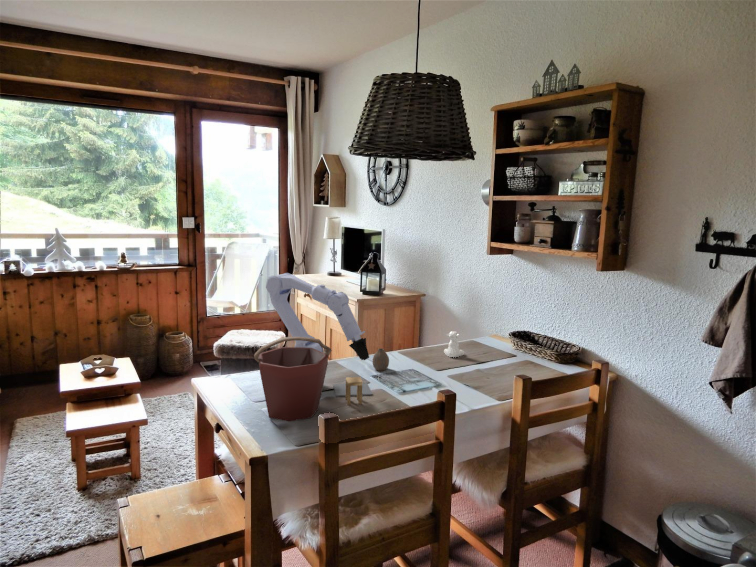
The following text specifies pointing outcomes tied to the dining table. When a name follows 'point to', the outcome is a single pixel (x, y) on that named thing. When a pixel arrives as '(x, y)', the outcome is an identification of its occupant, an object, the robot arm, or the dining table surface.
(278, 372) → the bucket
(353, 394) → the mat
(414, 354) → the dining table surface
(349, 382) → the stool
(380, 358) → the vase
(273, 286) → the robot arm
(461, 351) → the seated beast figurine
